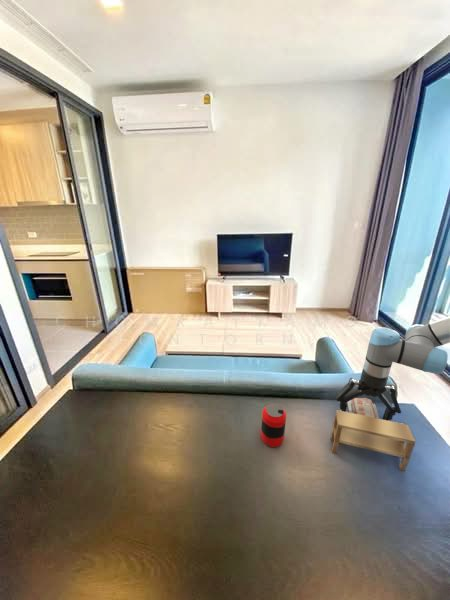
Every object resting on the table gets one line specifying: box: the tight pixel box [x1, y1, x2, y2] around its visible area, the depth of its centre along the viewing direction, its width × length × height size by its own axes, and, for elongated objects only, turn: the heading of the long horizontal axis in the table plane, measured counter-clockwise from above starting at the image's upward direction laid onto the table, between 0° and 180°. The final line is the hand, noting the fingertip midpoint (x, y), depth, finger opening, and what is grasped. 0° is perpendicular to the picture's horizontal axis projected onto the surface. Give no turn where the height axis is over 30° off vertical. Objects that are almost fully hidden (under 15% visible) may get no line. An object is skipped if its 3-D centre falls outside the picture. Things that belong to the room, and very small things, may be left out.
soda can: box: [260, 403, 287, 448], centre depth 82 cm, size 8×8×12 cm
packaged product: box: [347, 397, 380, 419], centre depth 90 cm, size 18×5×10 cm
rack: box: [330, 409, 416, 472], centre depth 77 cm, size 20×6×12 cm, turn 73°
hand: (362, 420), depth 91 cm, fingers open, 13 cm apart
